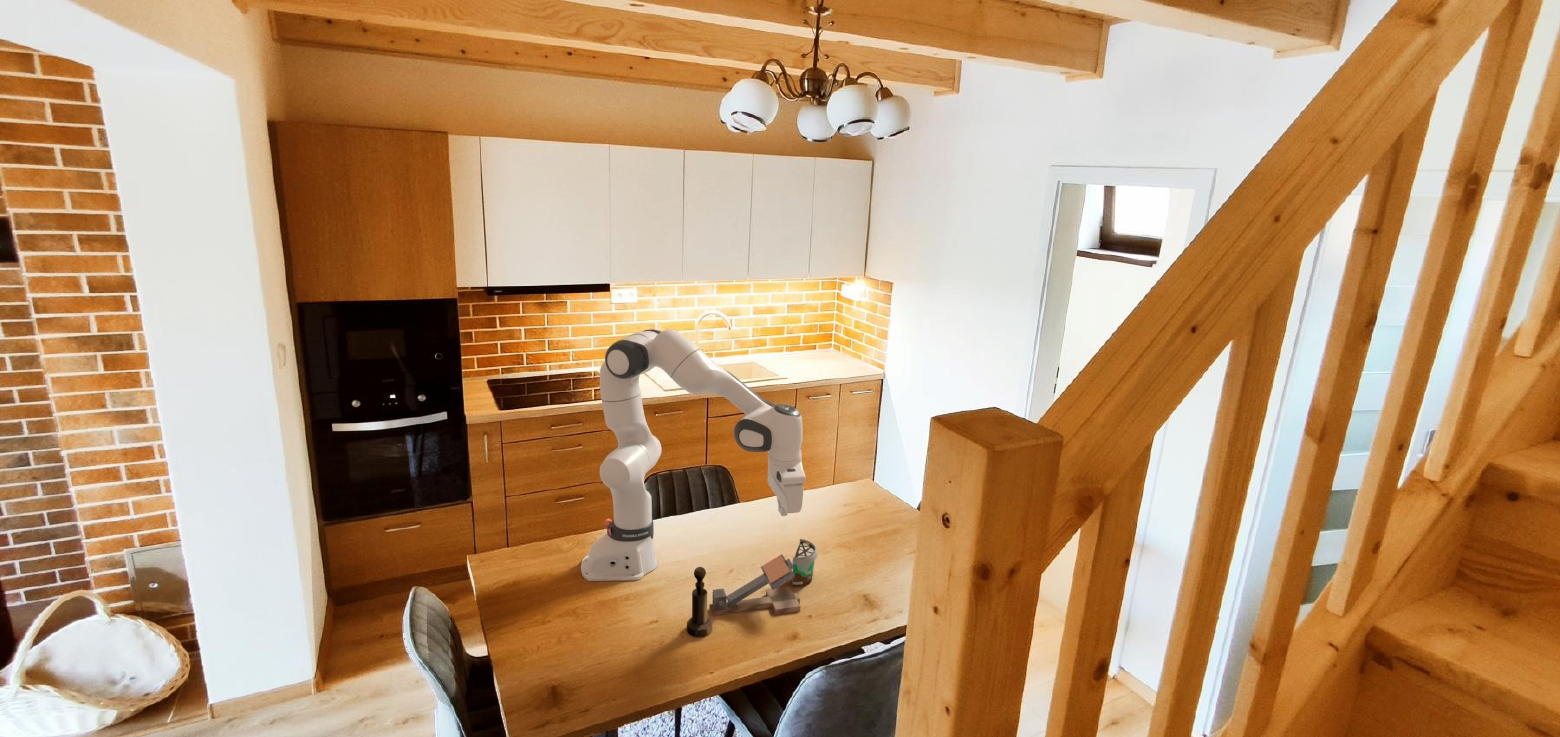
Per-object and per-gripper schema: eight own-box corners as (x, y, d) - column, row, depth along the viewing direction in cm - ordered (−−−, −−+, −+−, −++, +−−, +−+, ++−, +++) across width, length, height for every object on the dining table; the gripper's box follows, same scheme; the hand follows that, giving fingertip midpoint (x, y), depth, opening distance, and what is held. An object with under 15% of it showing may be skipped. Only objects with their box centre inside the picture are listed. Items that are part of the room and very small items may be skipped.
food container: (812, 592, 210) (814, 560, 208) (791, 589, 212) (792, 557, 209) (819, 570, 222) (820, 540, 220) (799, 567, 223) (800, 537, 221)
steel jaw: (733, 614, 195) (730, 608, 195) (725, 593, 205) (722, 588, 204) (798, 574, 198) (795, 569, 197) (787, 556, 207) (784, 551, 207)
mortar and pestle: (699, 619, 196) (700, 558, 191) (717, 629, 192) (718, 567, 187) (681, 630, 191) (681, 568, 186) (699, 641, 187) (699, 577, 182)
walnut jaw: (713, 623, 194) (714, 604, 193) (706, 602, 204) (706, 584, 202) (803, 610, 201) (804, 592, 200) (792, 591, 211) (793, 573, 209)
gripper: (762, 452, 203) (761, 498, 206) (784, 481, 184) (782, 532, 187) (784, 450, 205) (783, 496, 208) (808, 479, 186) (805, 529, 189)
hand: (782, 513), depth 198 cm, fingers closed
